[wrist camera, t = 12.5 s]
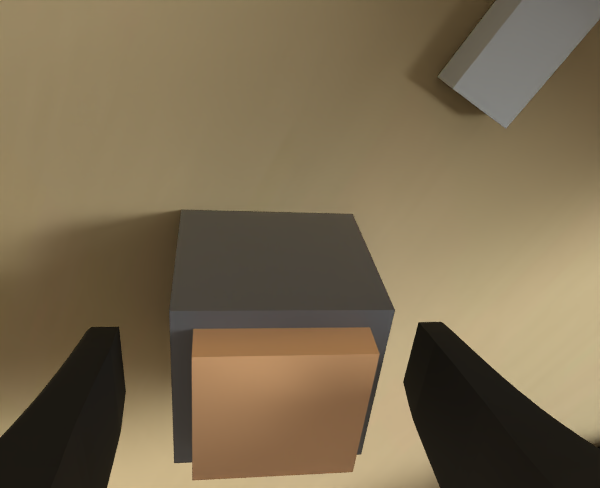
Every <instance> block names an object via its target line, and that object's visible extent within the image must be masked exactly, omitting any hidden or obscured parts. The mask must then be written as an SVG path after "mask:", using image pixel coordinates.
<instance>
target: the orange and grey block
mask: <svg viewBox="0 0 600 488" xmlns="http://www.w3.org/2000/svg"><path fill="white" fill-rule="evenodd" d="M394 312H395V309H394V307H393V305H392V302H391V300H390V298H389V296H388V293H387V291H386V289H385V287H384V284H383V282H382V280H381V277H380V275H379V273H378V271H377V268H376V266H375V264H374V262H373V259H372V257H371V255H370V252H369V250H368V248H367V246H366V243H365V241H364V239H363V237H362V234H361V232H360V230H359V227H358V225H357V223H356V221H355V218H354V216H353V214H332V213H292V212H251V211H211V210H181V215H180V224H179V232H178V241H177V249H176V258H175V266H174V275H173V283H172V292H171V301H170V309H169V318H170V348H171V379H172V410H173V441H174V463H188V462H192V480H208V479H227V478H246V477H266V476H285V475H304V474H323V473H342V472H353V468H354V464H355V460H356V455H359V454H361V452H362V448H363V444H364V439H365V435H366V431H367V427H368V422H369V418H370V414H371V410H372V405H373V401H374V397H375V393H376V388H377V384H378V380H379V376H380V371H381V367H382V363H383V358H384V354H385V350H386V346H387V341H388V337H389V333H390V329H391V324H392V320H393V316H394Z"/></svg>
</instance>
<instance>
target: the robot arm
mask: <svg viewBox="0 0 600 488" xmlns="http://www.w3.org/2000/svg"><path fill="white" fill-rule="evenodd" d="M403 383H404V387H405V391H406V395H407V399H408V403H409V407H410V411H411V414H412V418H413V421H414V424H415V426H416V429H417V431H418V434H419V436H420V439H421V441H422V444H423V446H424V449H425V451H426V454H427V456H428V459H429V461H430V464H431V466H432V469H433V471H434V474H435V476H436V479H437V481H438V483H439V486H440V488H600V449H599V448H597V447H596V446H594V445H592V444H591V443H589V442H588V441H586V440H585V439H583V438H582V437H580V436H579V435H577V434H576V433H574V432H573V431H572V430H570V429H569V428H567V427H566V426H564V425H563V424H561V423H560V422H559V421H557V420H556V419H554V418H553V417H552V416H550V415H549V414H548V413H546V412H545V411H544V410H542V409H541V408H540V407H538V406H537V405H536V404H535V403H533V402H532V401H531V400H530V399H528V398H527V397H526V396H525V395H523V394H522V393H521V392H520V391H518V390H517V389H516V388H515V387H514V386H513V385H511V384H510V383H509V382H508V381H507V380H505V379H504V378H503V377H502V376H501V375H500V374H499V373H497V372H496V371H495V370H494V369H493V368H492V367H491V366H490V365H489V364H487V363H486V362H485V361H484V360H483V359H482V358H481V357H480V356H479V355H478V354H476V353H475V352H474V351H473V350H472V349H471V348H470V347H469V346H468V345H467V344H466V343H465V342H463V341H462V340H461V339H460V338H459V337H458V336H457V335H456V334H455V333H454V332H453V331H452V330H450V329H449V328H448V327H447V326H446V325H445V324H444V323H442V322H419V323H418V327H417V331H416V335H415V338H414V342H413V346H412V350H411V354H410V358H409V362H408V366H407V370H406V373H405V377H404V381H403ZM125 393H126V389H125V380H124V370H123V361H122V351H121V342H120V332H119V327H91V328H90V329H89V330H88V331H86V333H85V334H84V336H83V337H82V339H81V340H80V342H79V343H78V345H77V346H76V347H75V349H74V350H73V352H72V353H71V354H70V356H69V357H68V358H67V360H66V361H65V362H64V364H63V365H62V366H61V368H60V369H59V370H58V372H57V373H56V374H55V375H54V377H53V378H52V379H51V380H50V382H49V383H48V384H47V385H46V387H45V388H44V389H43V390H42V392H41V393H40V394H39V395H38V396H37V398H36V399H35V400H34V401H33V402H32V403H31V405H30V406H29V407H28V408H27V409H26V410H25V411H24V412H23V413H22V415H21V416H20V417H19V418H18V419H17V420H16V421H15V422H14V423H13V425H12V426H11V427H10V428H9V429H8V430H7V431H6V432H5V433H4V434H3V435H2V436H1V437H0V488H107V485H108V481H109V477H110V473H111V469H112V465H113V461H114V457H115V453H116V449H117V445H118V441H119V437H120V432H121V425H122V417H123V409H124V401H125Z"/></svg>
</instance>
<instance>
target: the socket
mask: <svg viewBox="0 0 600 488" xmlns="http://www.w3.org/2000/svg"><path fill="white" fill-rule="evenodd" d="M599 19H600V0H496V1H495V2H494V3H493V5H492V6H491V7H490V9H489V10H488V11H487V12H486V14H485V15H484V16H483V18H482V19H481V20H480V22H479V23H478V24H477V26H476V27H475V28H474V29H473V31H472V32H471V33H470V35H469V36H468V37H467V39H466V40H465V41H464V42H463V44H462V45H461V46H460V48H459V49H458V50H457V52H456V53H455V54H454V56H453V57H452V58H451V59H450V61H449V62H448V63H447V65H446V66H445V67H444V69H443V70H442V71H441V73H440V74H439V75H438V76H437V77H438V78H439V79H441V80H442V81H443V82H445V83H446V84H447V85H448V86H450V87H451V88H452V89H454V90H455V91H456V92H458V93H459V94H460V95H462V96H463V97H464V98H466V99H467V100H468V101H470V102H471V103H472V104H474V105H475V106H476V107H478V108H479V109H480V110H482V111H483V112H484V113H486V114H487V115H488V116H490V117H491V118H492V119H494V120H495V121H496V122H498V123H499V124H500V125H502V126H503V127H504V128H507V127H508V126H509V125H510V123H511V122H512V121H513V120H514V119H515V118H516V116H517V115H518V114H519V113H520V112H521V110H522V109H523V108H524V107H525V106H526V105H527V103H528V102H529V101H530V100H531V99H532V98H533V96H534V95H535V94H536V93H537V92H538V91H539V89H540V88H541V87H542V86H543V85H544V84H545V82H546V81H547V80H548V79H549V78H550V77H551V75H552V74H553V73H554V72H555V71H556V70H557V68H558V67H559V66H560V65H561V64H562V63H563V61H564V60H565V59H566V58H567V57H568V56H569V54H570V53H571V52H572V51H573V50H574V49H575V47H576V46H577V45H578V44H579V43H580V42H581V40H582V39H583V38H584V37H585V36H586V35H587V33H588V32H589V31H590V30H591V29H592V28H593V26H594V25H595V24H596V23H597V22H598V21H599Z"/></svg>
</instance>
